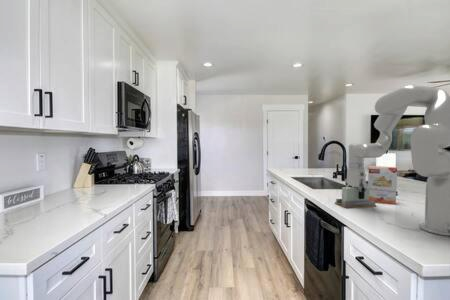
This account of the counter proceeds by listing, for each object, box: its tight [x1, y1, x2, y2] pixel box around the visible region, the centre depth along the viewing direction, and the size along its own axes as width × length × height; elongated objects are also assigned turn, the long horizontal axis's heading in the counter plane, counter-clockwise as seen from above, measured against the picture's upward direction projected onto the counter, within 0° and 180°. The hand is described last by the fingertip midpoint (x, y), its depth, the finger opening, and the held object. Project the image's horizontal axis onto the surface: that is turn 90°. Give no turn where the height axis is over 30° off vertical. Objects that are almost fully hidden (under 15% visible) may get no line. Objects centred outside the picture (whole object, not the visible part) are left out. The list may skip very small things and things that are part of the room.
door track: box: [334, 198, 377, 209], centre depth 141 cm, size 10×18×3 cm, turn 100°
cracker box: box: [367, 165, 398, 205], centre depth 148 cm, size 14×6×21 cm, turn 62°
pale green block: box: [341, 186, 370, 204], centre depth 141 cm, size 4×14×9 cm, turn 100°
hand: (355, 196), depth 141 cm, fingers open, 9 cm apart
